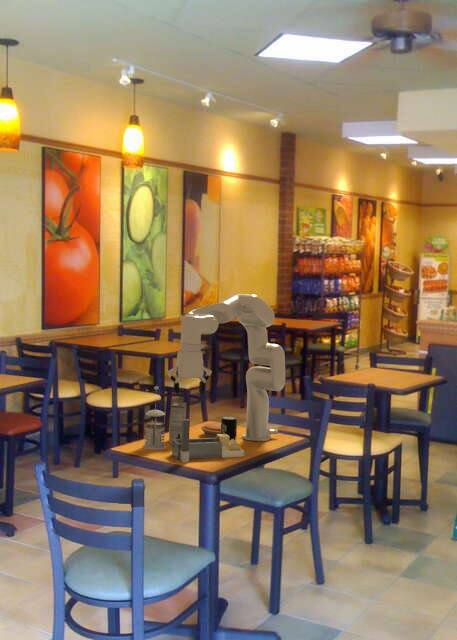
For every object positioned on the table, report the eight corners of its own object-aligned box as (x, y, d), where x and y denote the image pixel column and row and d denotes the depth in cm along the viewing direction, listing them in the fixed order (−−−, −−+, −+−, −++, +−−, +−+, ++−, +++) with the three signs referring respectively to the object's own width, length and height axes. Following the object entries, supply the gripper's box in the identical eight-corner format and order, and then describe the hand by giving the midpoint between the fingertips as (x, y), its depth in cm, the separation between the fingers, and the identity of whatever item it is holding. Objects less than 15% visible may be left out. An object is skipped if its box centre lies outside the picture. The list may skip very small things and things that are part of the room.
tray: (234, 450, 314) (234, 444, 314) (244, 457, 304) (244, 450, 304) (213, 451, 311) (213, 445, 311) (222, 458, 301) (222, 451, 301)
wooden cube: (224, 444, 308) (229, 452, 309) (227, 446, 304) (232, 454, 305) (232, 438, 309) (237, 446, 310) (236, 440, 305) (240, 448, 306)
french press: (167, 444, 320) (169, 384, 318) (165, 451, 308) (167, 389, 307) (143, 443, 320) (145, 383, 318) (140, 450, 308) (142, 388, 307)
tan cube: (225, 443, 308) (226, 434, 307) (229, 446, 304) (229, 436, 304) (216, 444, 306) (216, 434, 306) (219, 446, 303) (219, 436, 302)
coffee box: (170, 439, 330) (172, 401, 329) (185, 439, 330) (186, 402, 329) (168, 443, 321) (169, 405, 320) (183, 444, 321) (185, 406, 320)
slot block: (215, 452, 309) (215, 437, 309) (221, 457, 302) (222, 442, 301) (171, 454, 303) (172, 439, 303) (177, 459, 296) (177, 444, 295)
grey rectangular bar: (186, 459, 296) (187, 418, 295) (188, 462, 293) (190, 420, 291) (180, 459, 296) (181, 418, 294) (182, 462, 292) (184, 420, 291)
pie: (201, 431, 348) (202, 420, 348) (235, 433, 348) (236, 422, 348) (199, 439, 333) (200, 427, 332) (235, 440, 332) (236, 429, 332)
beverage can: (234, 448, 318) (235, 419, 317) (218, 446, 319) (219, 418, 318) (237, 444, 324) (238, 416, 323) (222, 443, 326) (223, 415, 325)
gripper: (209, 346, 298) (207, 390, 299) (165, 347, 292) (164, 391, 293) (215, 349, 291) (213, 394, 292) (171, 349, 285) (169, 395, 286)
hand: (189, 392), depth 292 cm, fingers open, 9 cm apart
